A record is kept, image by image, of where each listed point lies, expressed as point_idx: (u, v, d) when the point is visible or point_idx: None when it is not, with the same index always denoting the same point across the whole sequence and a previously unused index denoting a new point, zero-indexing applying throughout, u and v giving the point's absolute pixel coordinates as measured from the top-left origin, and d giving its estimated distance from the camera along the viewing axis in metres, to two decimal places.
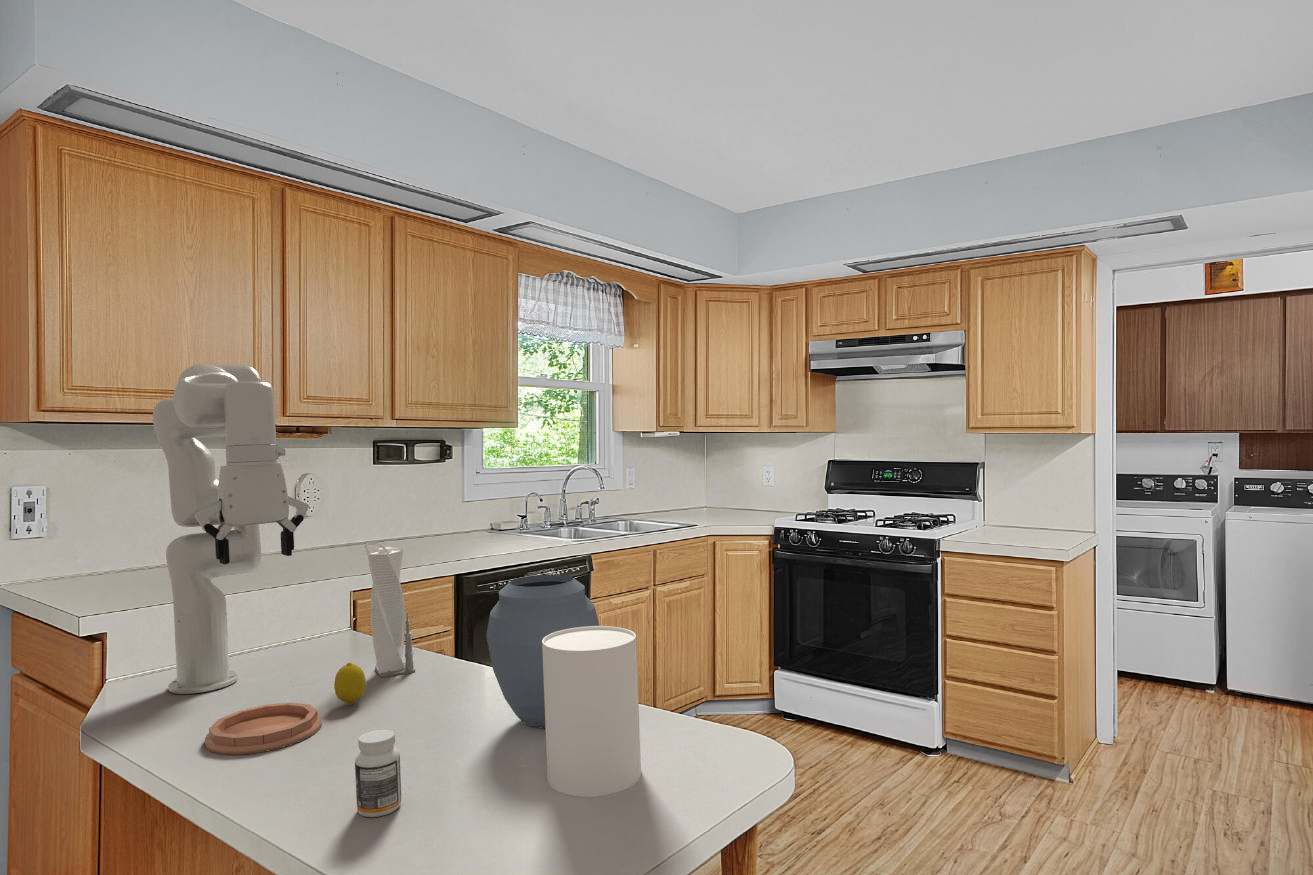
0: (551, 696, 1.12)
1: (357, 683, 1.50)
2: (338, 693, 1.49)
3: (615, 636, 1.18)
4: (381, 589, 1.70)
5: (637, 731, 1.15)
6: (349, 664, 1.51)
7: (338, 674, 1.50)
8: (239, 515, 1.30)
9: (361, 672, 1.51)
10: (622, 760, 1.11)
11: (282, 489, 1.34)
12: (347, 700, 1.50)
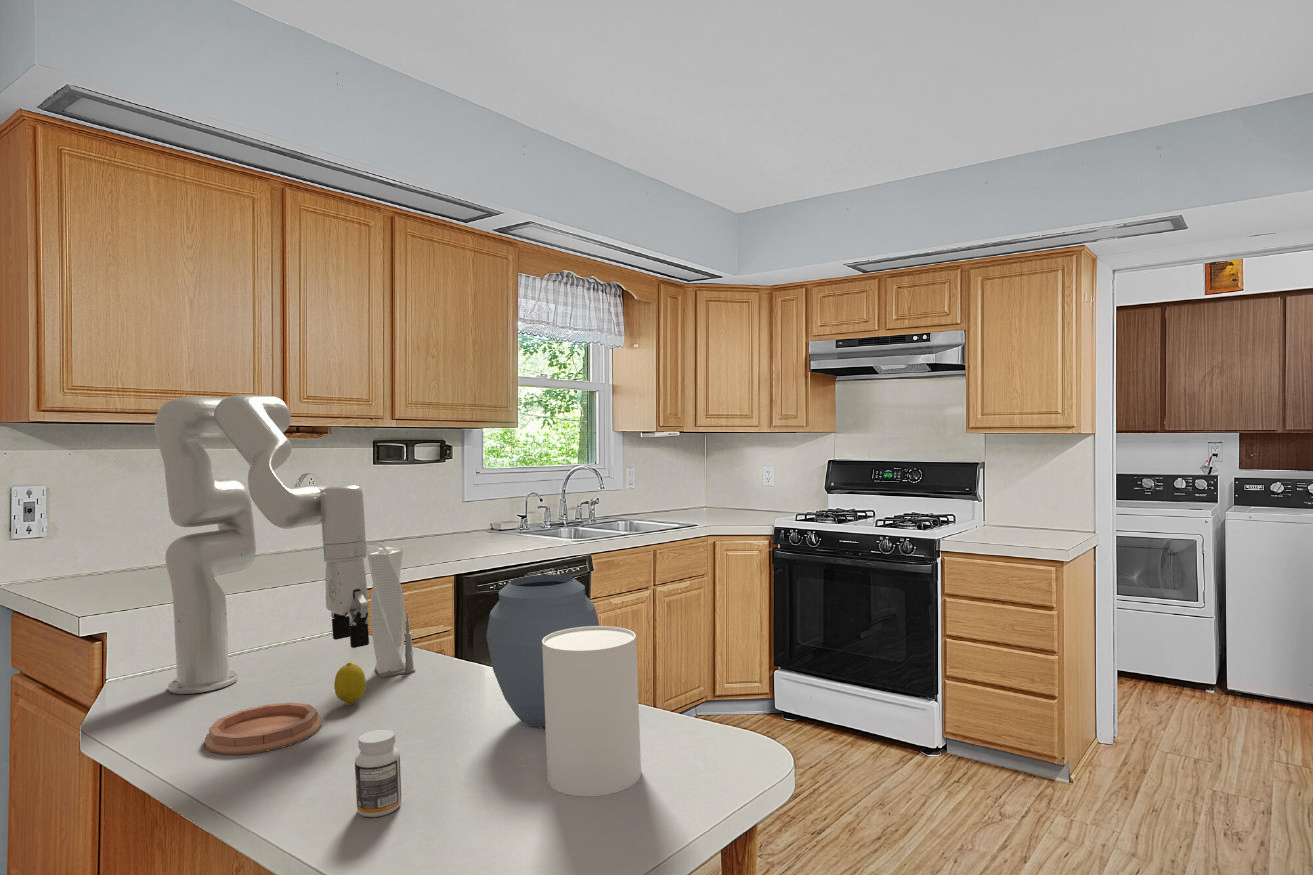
0: (551, 696, 1.12)
1: (357, 683, 1.50)
2: (338, 693, 1.49)
3: (615, 636, 1.18)
4: (381, 589, 1.70)
5: (637, 731, 1.15)
6: (349, 664, 1.51)
7: (338, 674, 1.50)
8: None
9: (361, 672, 1.51)
10: (622, 760, 1.11)
11: None
12: (347, 700, 1.50)
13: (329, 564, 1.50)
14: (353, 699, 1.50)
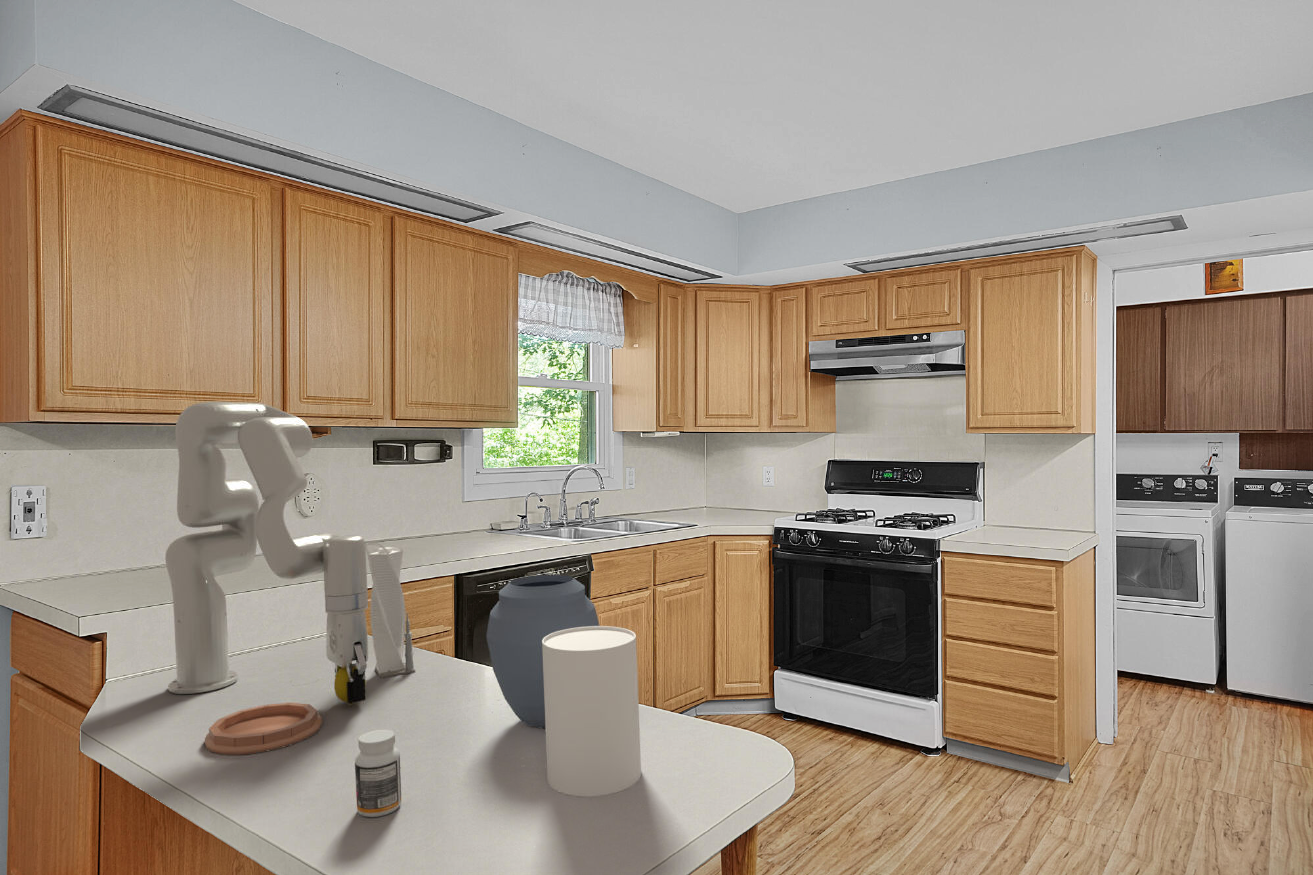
0: (551, 696, 1.12)
1: None
2: (337, 693, 1.49)
3: (615, 636, 1.18)
4: (381, 589, 1.70)
5: (637, 731, 1.15)
6: None
7: (338, 674, 1.50)
8: None
9: None
10: (622, 760, 1.11)
11: None
12: None
13: (330, 615, 1.50)
14: None
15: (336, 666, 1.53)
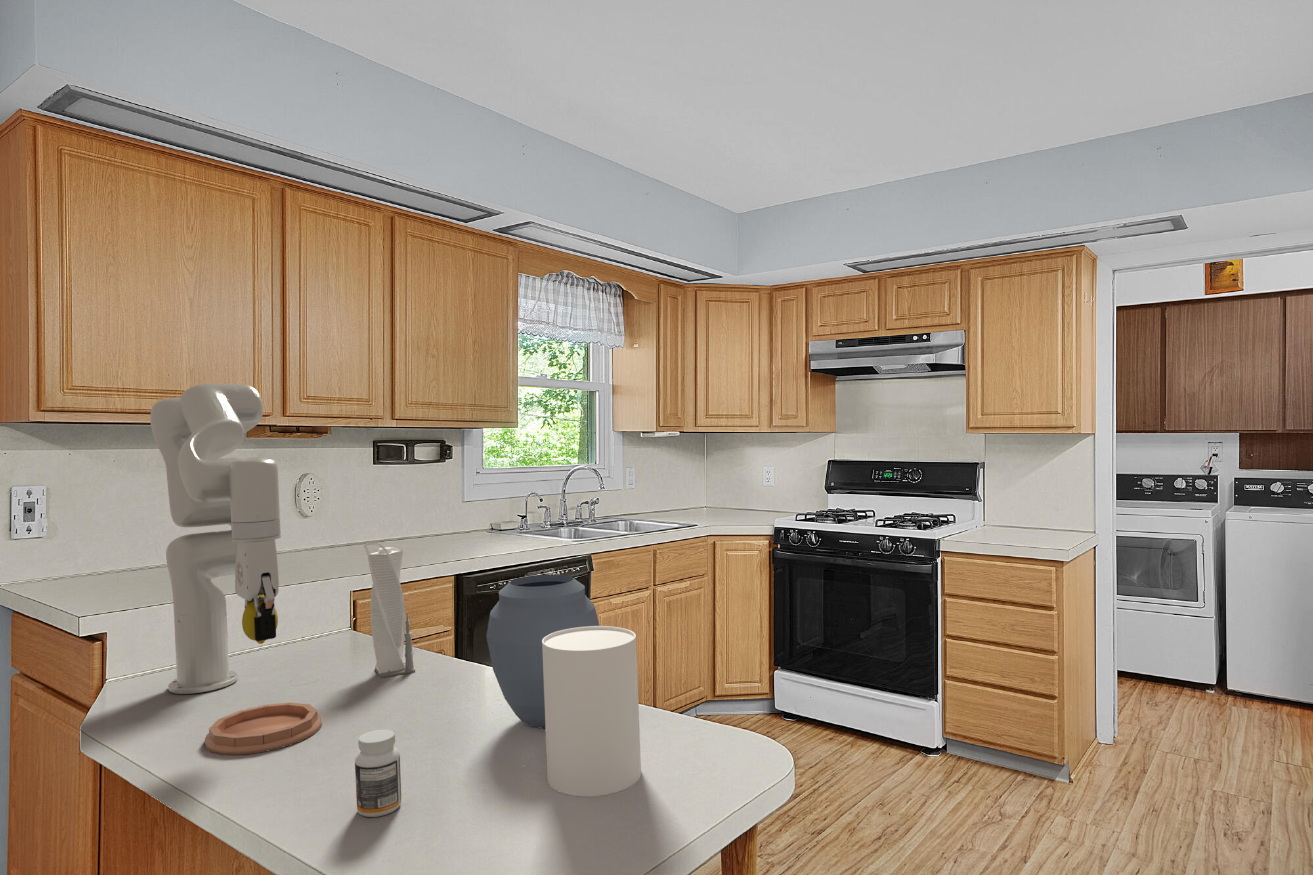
0: (551, 696, 1.12)
1: None
2: (245, 630, 1.36)
3: (615, 636, 1.18)
4: (381, 589, 1.70)
5: (637, 731, 1.15)
6: None
7: (246, 609, 1.36)
8: None
9: None
10: (622, 760, 1.11)
11: None
12: None
13: (238, 545, 1.37)
14: None
15: (246, 602, 1.40)
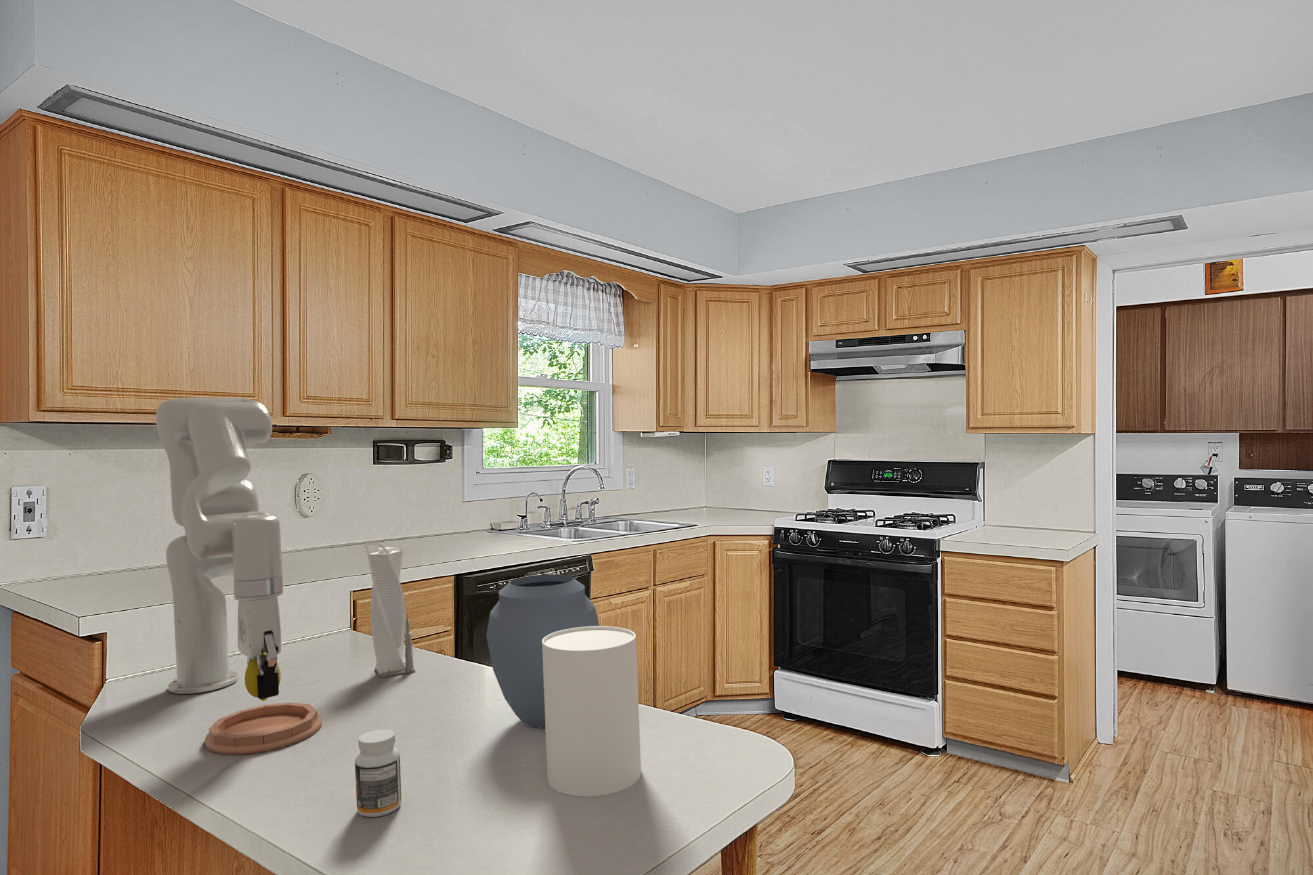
0: (551, 696, 1.12)
1: None
2: (248, 688, 1.36)
3: (615, 636, 1.18)
4: (381, 589, 1.70)
5: (637, 731, 1.15)
6: None
7: (248, 667, 1.36)
8: None
9: None
10: (622, 760, 1.11)
11: None
12: None
13: (240, 602, 1.37)
14: None
15: (248, 658, 1.40)
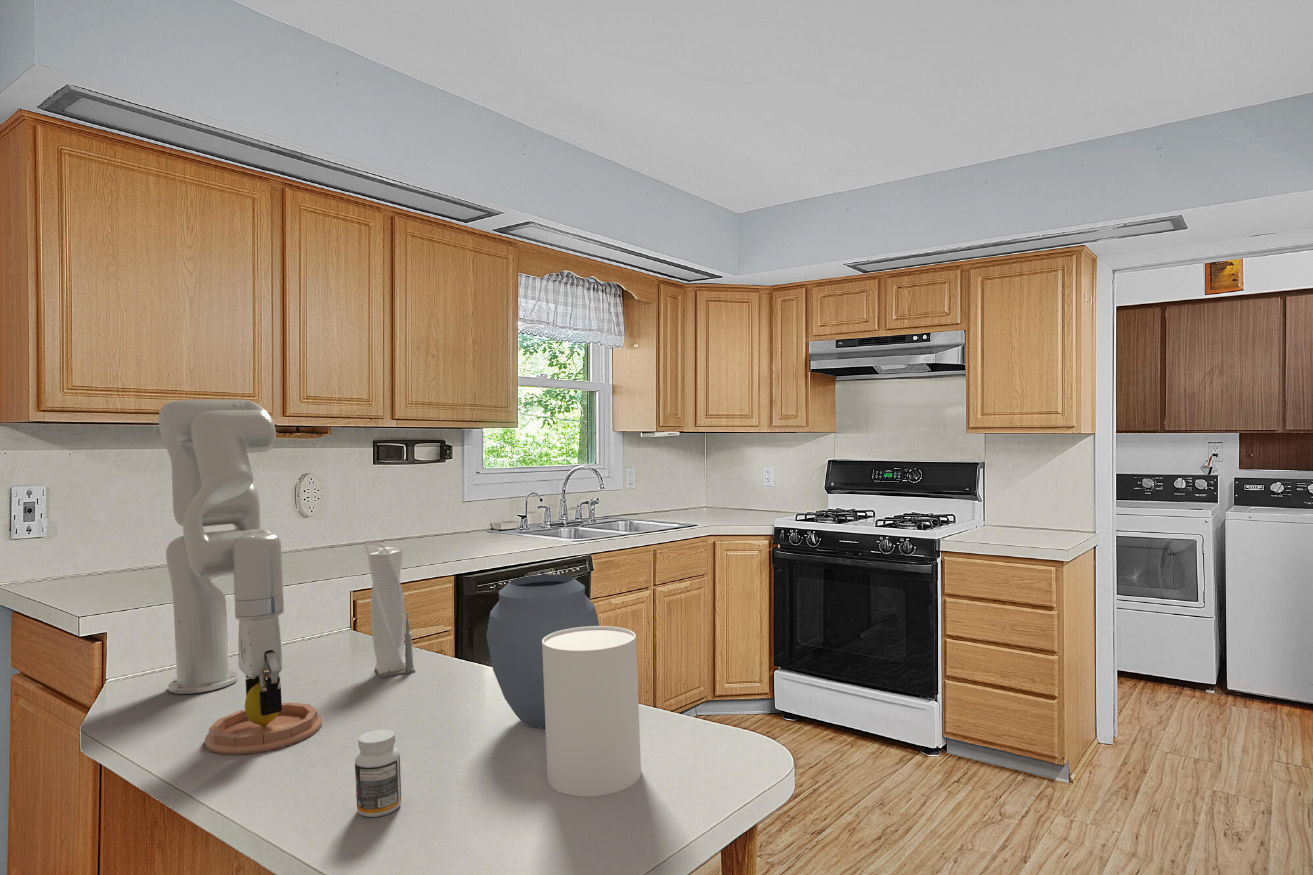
0: (551, 696, 1.12)
1: None
2: (248, 715, 1.36)
3: (615, 636, 1.18)
4: (381, 589, 1.70)
5: (637, 731, 1.15)
6: None
7: (249, 694, 1.37)
8: None
9: None
10: (622, 760, 1.11)
11: None
12: (259, 722, 1.37)
13: (241, 621, 1.37)
14: (265, 721, 1.37)
15: None
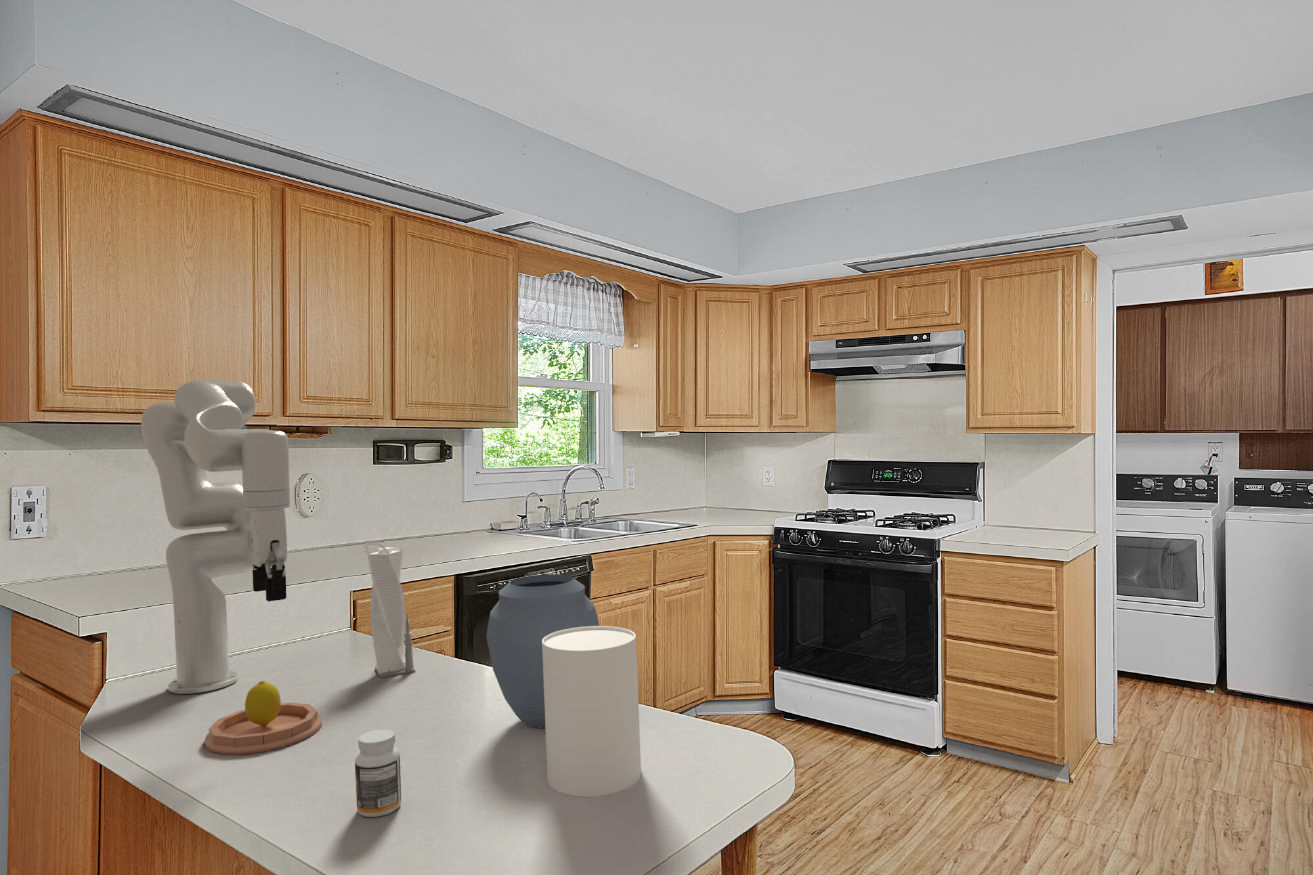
0: (551, 696, 1.12)
1: (270, 703, 1.37)
2: (248, 715, 1.36)
3: (615, 636, 1.18)
4: (381, 589, 1.70)
5: (637, 731, 1.15)
6: (262, 682, 1.38)
7: (249, 694, 1.37)
8: None
9: (275, 691, 1.38)
10: (622, 760, 1.11)
11: None
12: (259, 722, 1.37)
13: (249, 512, 1.43)
14: (265, 721, 1.37)
15: None
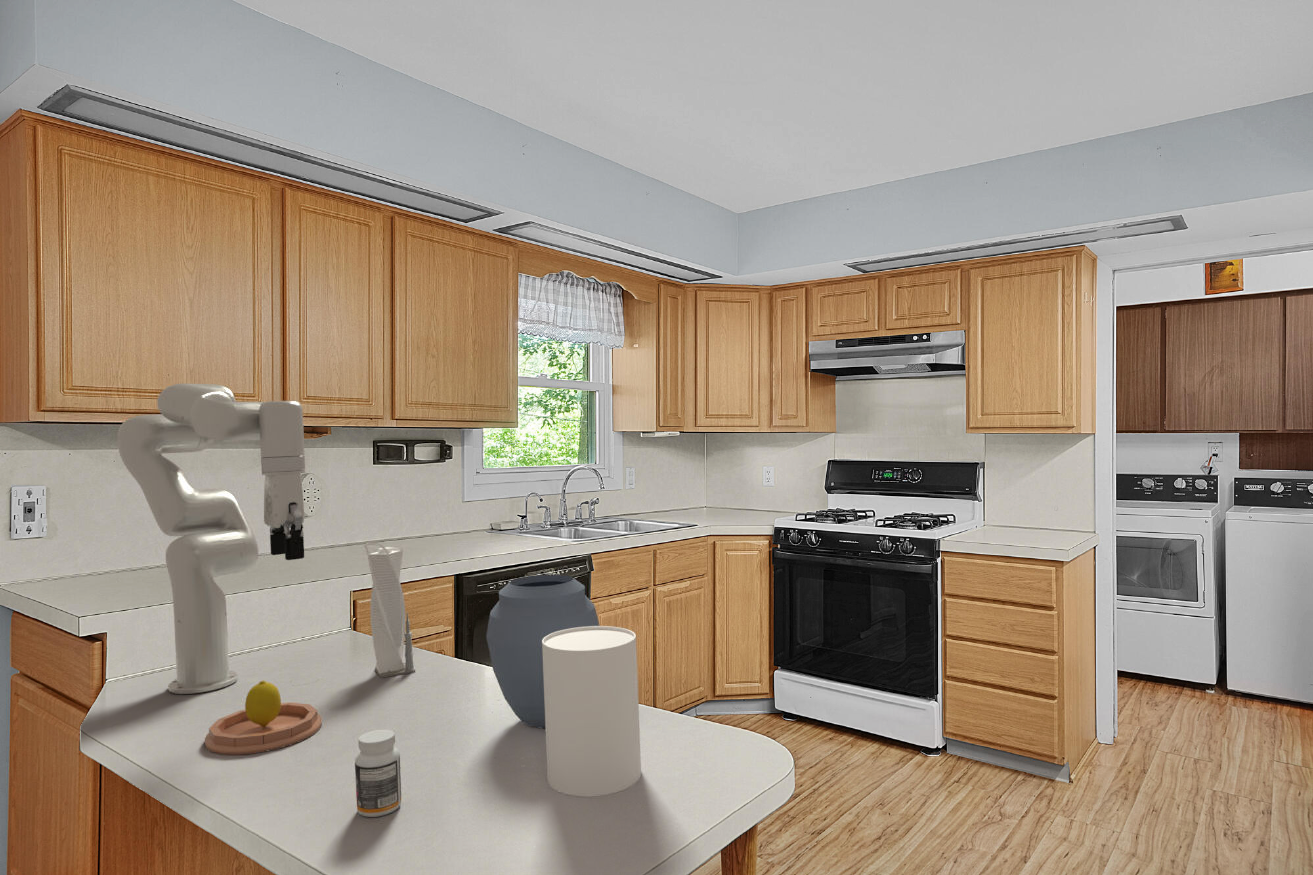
0: (551, 696, 1.12)
1: (270, 703, 1.37)
2: (248, 715, 1.36)
3: (615, 636, 1.18)
4: (381, 589, 1.70)
5: (637, 731, 1.15)
6: (262, 682, 1.38)
7: (249, 693, 1.37)
8: None
9: (275, 691, 1.38)
10: (622, 760, 1.11)
11: None
12: (259, 722, 1.37)
13: (267, 478, 1.51)
14: (265, 721, 1.37)
15: (271, 527, 1.55)
